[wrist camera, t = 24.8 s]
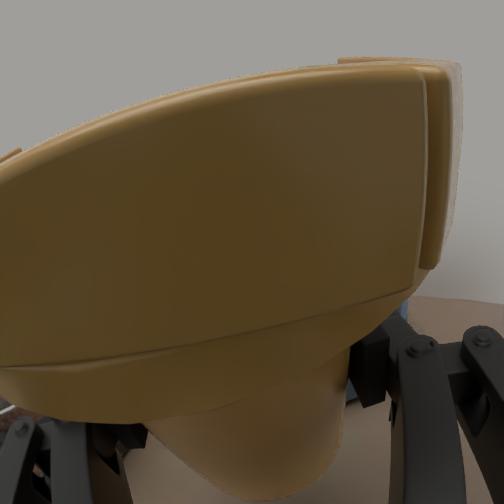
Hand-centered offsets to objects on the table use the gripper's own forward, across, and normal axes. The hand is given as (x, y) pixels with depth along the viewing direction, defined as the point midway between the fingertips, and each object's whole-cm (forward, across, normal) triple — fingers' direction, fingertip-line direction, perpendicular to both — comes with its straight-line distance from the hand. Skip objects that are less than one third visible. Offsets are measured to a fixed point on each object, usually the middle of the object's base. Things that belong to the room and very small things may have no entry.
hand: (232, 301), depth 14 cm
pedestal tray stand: (-3, 0, +6) cm, 6 cm away
